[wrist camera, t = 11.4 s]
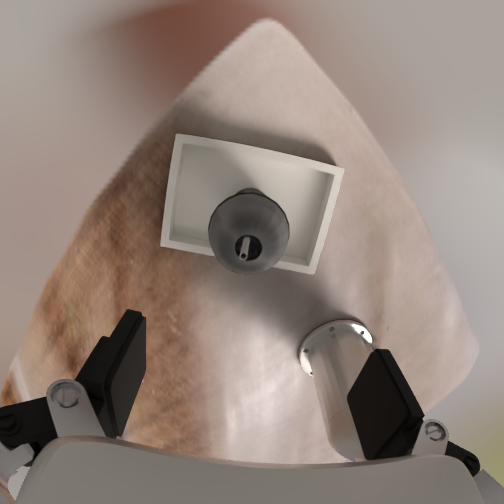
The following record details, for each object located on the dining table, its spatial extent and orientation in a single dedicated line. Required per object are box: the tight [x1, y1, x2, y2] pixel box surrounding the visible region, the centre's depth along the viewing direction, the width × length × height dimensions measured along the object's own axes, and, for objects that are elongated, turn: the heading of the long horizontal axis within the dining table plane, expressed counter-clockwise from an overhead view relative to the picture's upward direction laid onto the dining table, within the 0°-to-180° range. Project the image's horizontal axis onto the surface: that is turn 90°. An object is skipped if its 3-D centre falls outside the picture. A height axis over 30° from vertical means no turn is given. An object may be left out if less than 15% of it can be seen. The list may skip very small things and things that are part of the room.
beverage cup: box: [208, 188, 290, 275], centre depth 28 cm, size 7×7×20 cm
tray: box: [160, 134, 344, 275], centre depth 36 cm, size 20×14×3 cm
